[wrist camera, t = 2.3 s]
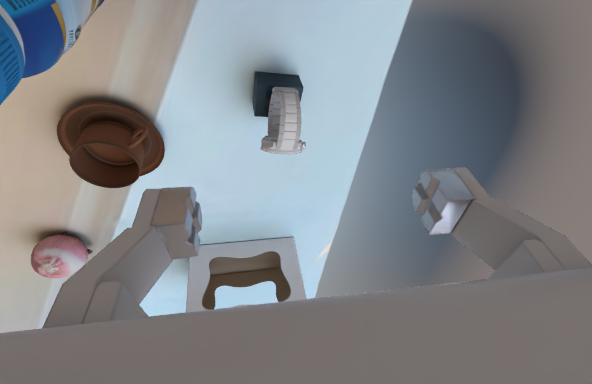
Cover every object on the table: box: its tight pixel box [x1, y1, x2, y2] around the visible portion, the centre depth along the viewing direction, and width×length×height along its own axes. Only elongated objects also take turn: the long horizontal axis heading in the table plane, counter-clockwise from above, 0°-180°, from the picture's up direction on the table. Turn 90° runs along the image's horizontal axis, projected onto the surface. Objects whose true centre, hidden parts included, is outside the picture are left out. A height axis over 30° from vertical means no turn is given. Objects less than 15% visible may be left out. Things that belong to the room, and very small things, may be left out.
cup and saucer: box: [57, 102, 165, 188], centre depth 38 cm, size 12×12×6 cm
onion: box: [31, 232, 93, 278], centre depth 51 cm, size 8×8×7 cm
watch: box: [253, 72, 306, 154], centre depth 35 cm, size 6×8×11 cm
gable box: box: [186, 237, 306, 313], centre depth 59 cm, size 22×13×28 cm, turn 84°
